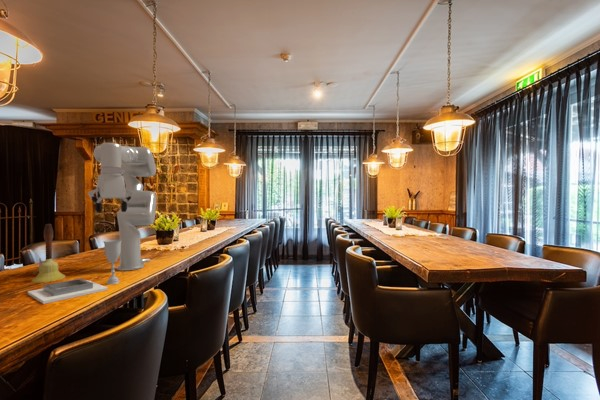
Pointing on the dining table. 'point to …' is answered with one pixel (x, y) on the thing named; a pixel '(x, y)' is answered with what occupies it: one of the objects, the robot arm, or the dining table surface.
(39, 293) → the board
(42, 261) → the lily
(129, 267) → the robot arm
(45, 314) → the dining table surface
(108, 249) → the chalice
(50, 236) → the handbell
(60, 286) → the collar
